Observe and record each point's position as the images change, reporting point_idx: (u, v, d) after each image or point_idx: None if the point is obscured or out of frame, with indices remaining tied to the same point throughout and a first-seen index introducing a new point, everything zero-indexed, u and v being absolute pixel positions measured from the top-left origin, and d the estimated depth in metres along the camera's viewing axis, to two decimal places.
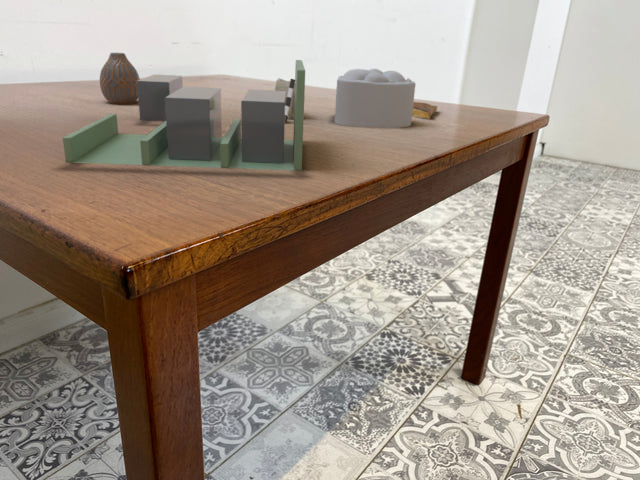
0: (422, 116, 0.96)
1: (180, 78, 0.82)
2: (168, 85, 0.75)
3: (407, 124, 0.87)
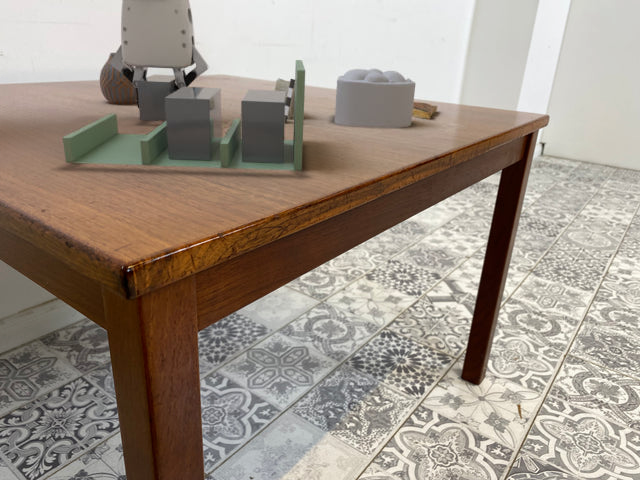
0: (422, 116, 0.96)
1: None
2: (168, 85, 0.75)
3: (407, 124, 0.87)
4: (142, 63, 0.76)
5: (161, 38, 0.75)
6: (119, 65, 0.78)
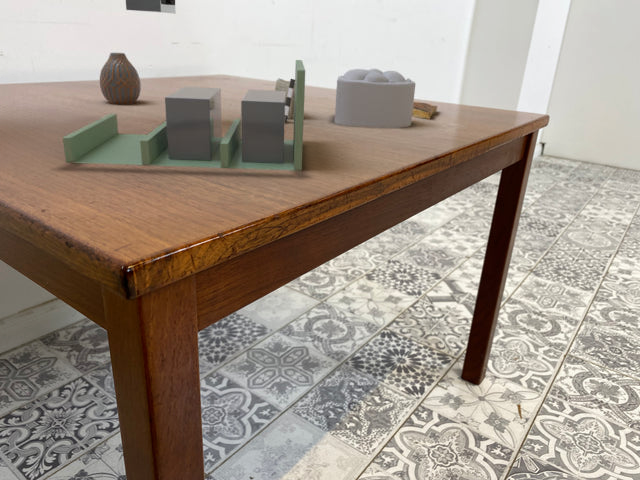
0: (422, 116, 0.96)
1: None
2: None
3: (407, 124, 0.87)
4: None
5: None
6: None
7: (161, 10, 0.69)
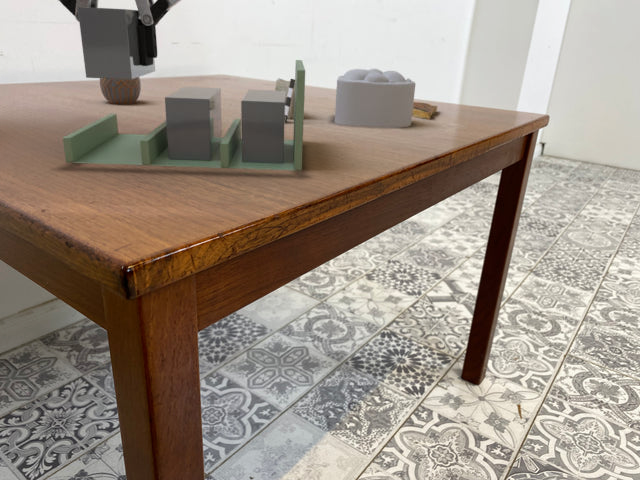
0: (422, 116, 0.96)
1: None
2: (125, 14, 0.50)
3: (407, 124, 0.87)
4: None
5: None
6: None
7: (132, 77, 0.53)
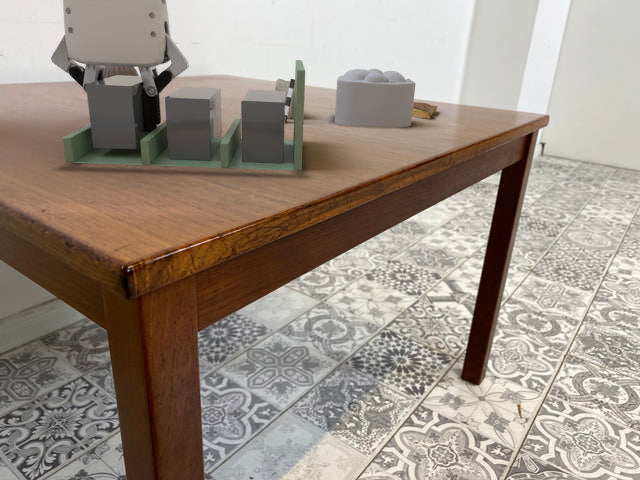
0: (422, 116, 0.96)
1: None
2: (130, 90, 0.53)
3: (407, 124, 0.87)
4: (95, 59, 0.54)
5: (121, 24, 0.53)
6: (64, 62, 0.56)
7: (137, 146, 0.56)
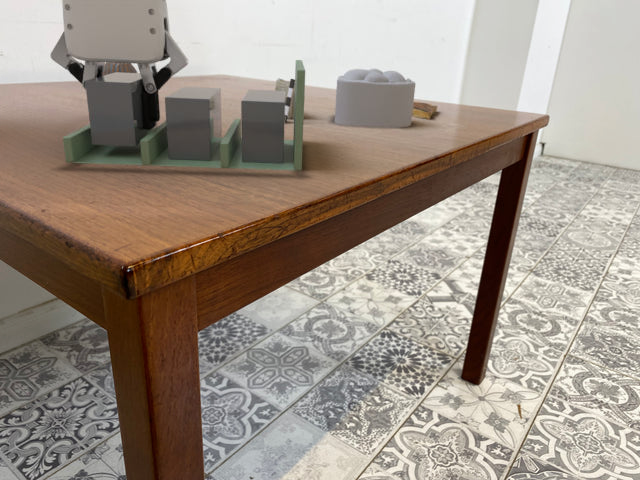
0: (422, 116, 0.96)
1: None
2: (130, 87, 0.53)
3: (407, 124, 0.87)
4: (94, 56, 0.54)
5: (120, 20, 0.53)
6: (63, 59, 0.56)
7: (136, 143, 0.55)
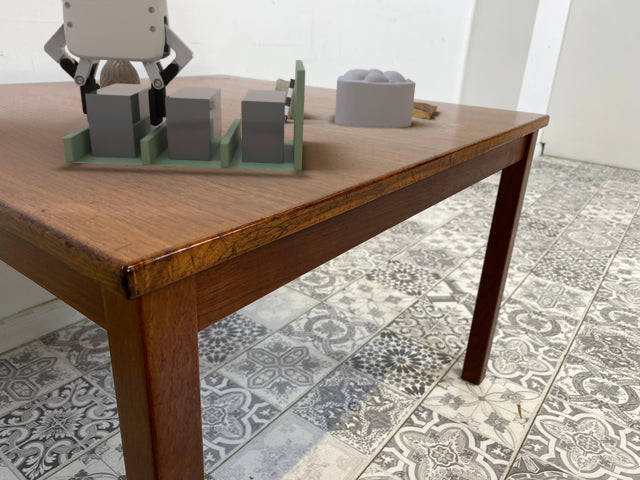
0: (422, 116, 0.96)
1: (150, 88, 0.61)
2: (129, 100, 0.53)
3: (407, 124, 0.87)
4: (94, 54, 0.54)
5: (120, 18, 0.53)
6: (56, 53, 0.55)
7: (136, 155, 0.56)
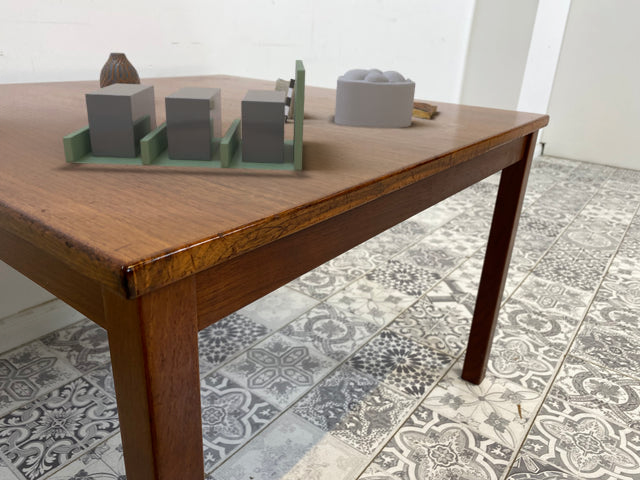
0: (422, 116, 0.96)
1: (150, 88, 0.61)
2: (129, 100, 0.53)
3: (407, 124, 0.87)
4: None
5: None
6: None
7: (136, 155, 0.56)
